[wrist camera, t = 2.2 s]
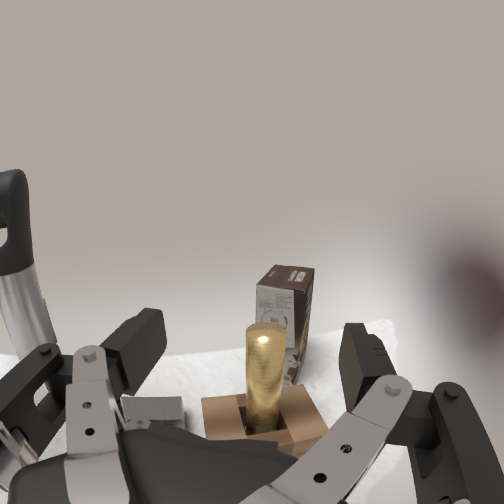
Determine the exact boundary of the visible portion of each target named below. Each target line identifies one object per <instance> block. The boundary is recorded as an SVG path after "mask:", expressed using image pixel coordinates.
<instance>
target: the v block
mask: <svg viewBox="0 0 504 504" xmlns="http://www.w3.org/2000/svg"><path fill="white" fill-rule="evenodd" d="M121 400H122V403H123V407H124V412H125V416H126V420H127V423H128V427H129V430H131V429H148V427H149V426H150V424H151V422H152V421H154V422H158V423H162V424H166V425H170V426H174V427H179V428H182V429H184V430H186V423H185V412H184V407H183V403H182V398H181V396H180V397H121Z"/></svg>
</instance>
